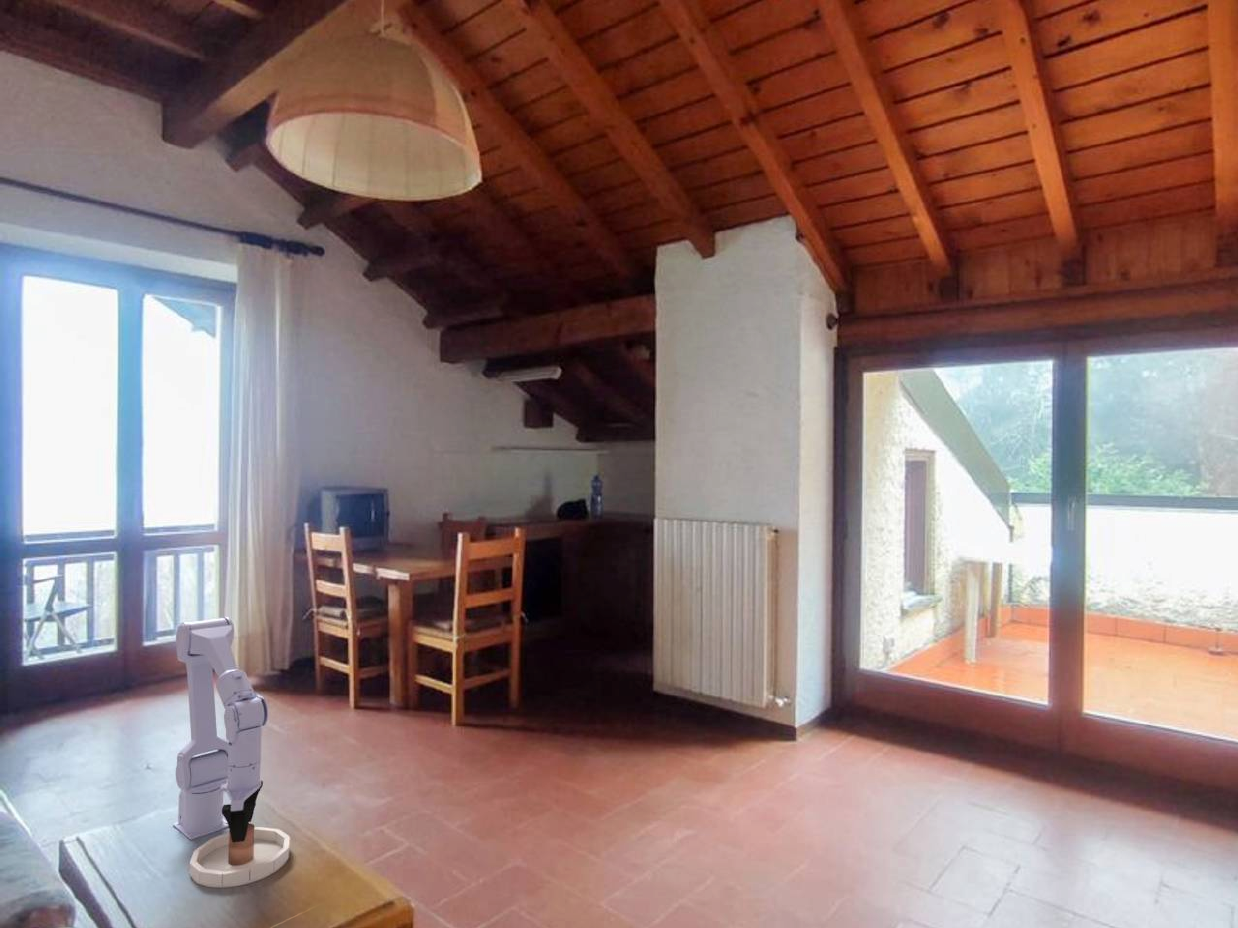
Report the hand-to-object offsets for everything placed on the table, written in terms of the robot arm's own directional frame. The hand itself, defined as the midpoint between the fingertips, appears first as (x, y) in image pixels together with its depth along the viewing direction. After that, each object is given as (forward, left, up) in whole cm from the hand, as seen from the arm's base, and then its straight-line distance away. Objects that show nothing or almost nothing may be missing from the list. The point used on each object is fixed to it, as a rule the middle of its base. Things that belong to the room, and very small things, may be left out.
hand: (242, 830), depth 142 cm
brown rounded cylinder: (0, 0, -6) cm, 6 cm away
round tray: (0, 0, -6) cm, 6 cm away
